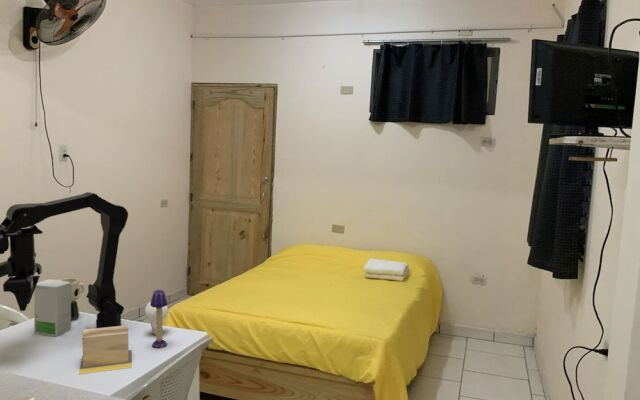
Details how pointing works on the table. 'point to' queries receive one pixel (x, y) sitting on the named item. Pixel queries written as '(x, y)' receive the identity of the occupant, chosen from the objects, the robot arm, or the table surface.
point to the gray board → (106, 366)
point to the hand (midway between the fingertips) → (25, 307)
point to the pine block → (105, 346)
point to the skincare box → (52, 307)
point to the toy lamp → (159, 316)
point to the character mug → (74, 295)
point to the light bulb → (154, 316)
